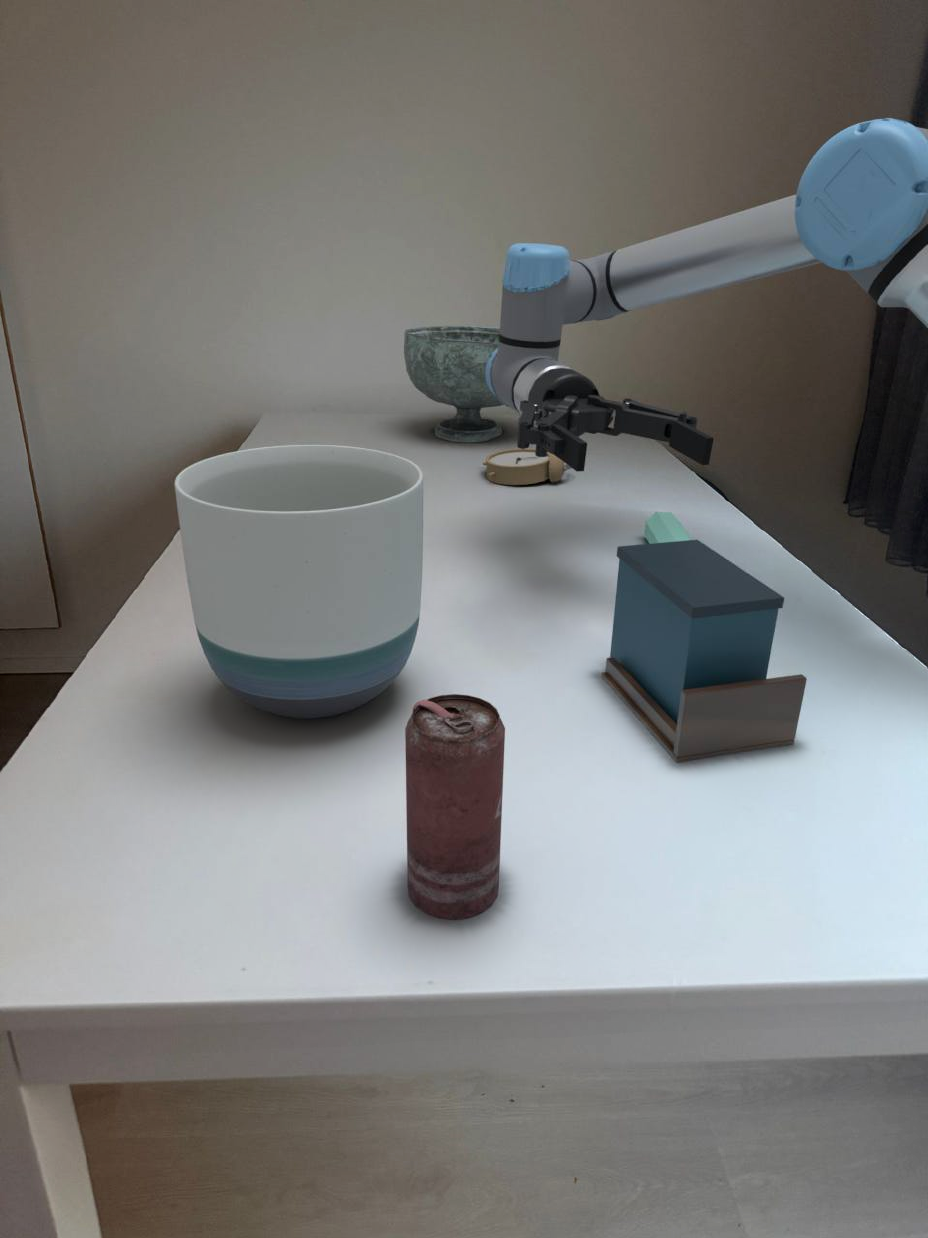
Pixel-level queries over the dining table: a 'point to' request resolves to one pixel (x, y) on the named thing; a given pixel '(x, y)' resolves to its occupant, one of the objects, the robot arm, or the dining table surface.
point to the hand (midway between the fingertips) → (646, 454)
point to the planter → (304, 572)
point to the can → (454, 805)
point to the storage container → (689, 620)
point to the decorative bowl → (455, 376)
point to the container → (664, 529)
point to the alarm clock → (523, 467)
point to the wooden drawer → (716, 714)
